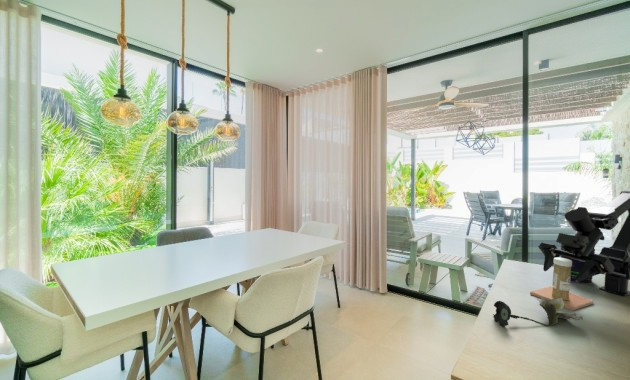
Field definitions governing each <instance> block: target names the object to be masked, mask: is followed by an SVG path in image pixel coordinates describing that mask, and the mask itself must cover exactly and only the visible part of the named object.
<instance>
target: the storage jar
mask: <svg viewBox="0 0 630 380" xmlns="http://www.w3.org/2000/svg"><path fill="white" fill-rule="evenodd" d="M561 245H562V244H561V243H560V250H564V248H562V247H561ZM595 248H596V247H594V249H595ZM593 253H594V254H596V253H595V252H590V254H593ZM590 254H589V255H590ZM589 255H588V257H589ZM560 258H566V259H569V260H571V261H572V266H571V276H570V278H571V280H570V282H572V283H577V284H585V285H588V284H589V285H590V284H592V283H593V277H594V276H591V277H589V278H586V279H584V280H581V281H579V282H577V281H576V280H575V278H576V276H577V275H578V273H579V272H580V271H581V269H582V268H583V267H584V265H585V262H583V261H579V260H575V259H572V258H568V257H564V256H561V257H560Z"/></svg>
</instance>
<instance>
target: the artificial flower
mask: <svg viewBox="0 0 630 380" xmlns="http://www.w3.org/2000/svg"><path fill="white" fill-rule="evenodd" d="M537 301H538V302H539V306H540V307H541V308H542V309H543V310H544V312H545V314H546V316H547V319H548V324H547V323H544V322H540V321H537V320H536V319H535V320H534V319H533V318H529V317H524V316H519V315H515V314H512V310H511V308H510V306H509V305H508V304H507V303H505V302H504V301H502V300H497V301H495V302H494V304H493V306H494V308H495V314H492V317H493V320H494V322H495V323H497V322H498V325H499V326H504V327H507V326H509V324H510V323H509V320H510V319H511V318H512V319H516V320H517V319H521V320H522V319H523V320H525V321H526V320H527V321H530V322H534V323H536V324H538V325H541V326H545V327H551V326H554V325H557V324H558V323H559V322H558V321H559V319H558V318H560V319H565V320H570V319H571V320H574V321H581V320H582V319H583V316H581V315H577V314H576V313H575V312H574V313H573V312H562V311H561V310H563V308H565V307H564V302H563V300H562V298H558V299H547V298H542V299H541V298H539V299H537ZM559 311H560V312H559Z"/></svg>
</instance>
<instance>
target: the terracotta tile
mask: <svg viewBox="0 0 630 380" xmlns="http://www.w3.org/2000/svg"><path fill="white" fill-rule="evenodd" d="M552 290H553V287H552V285H551V286H547V287H542V288H539V289H535V290H531V291H529V294H530V295H531V296H534V297H536V298H539V299H542V298H547V299H557V298H554V297H553V296H552ZM569 298H570V299H569V300H563V302H564V307H563V308H565V309H567V310H571V311H575V310H578V309H582V308H584V307H587V306H591V305H594V299H593V300H592V299H590V298H586V297H584V296H580V295H577V294H575V293H572V292H569Z"/></svg>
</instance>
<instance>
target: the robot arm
mask: <svg viewBox="0 0 630 380" xmlns="http://www.w3.org/2000/svg"><path fill="white" fill-rule="evenodd" d="M626 212H628V215H627V217H626V218H625V220H624V222H623V224H622V225H621V227H620V229H619V232H618V234H617V236H616V238H615V240H614V242H613V243H612V245H611V246H609V247H606V246H603V247H602V248H601V251H600V253H598V254H597V253H595V254H594V253H593V254H590V252H595V251H596V249H595V248H596V247H595V246H596V245H597V244H598V242H599V241H604V240H605V236H604V233H603V231H602V230H606V231H611V230H613V229H614V228H615V227H617V225H618V224H619V219H618V218H619V217H620V216H622V215H623V214H625V213H626ZM564 218H565V220H566V221H567V223H568V225H569V226H570V227H571V229H572V230H573V231H575V232H576V233H575V234H574V235H573V234H572V235H571V234H568V233H563V232H559V233H558V235H557V238H556V240H555V242H556V243H559V244H560V248H561V247H562V248H564V250H561V249H558V247H557V246H556V245H555V244H554V243H550V242H544V241H542V242H541V243H539V245H538V249H539V250H540V251H541V253H542V254H543V255H544V260H543V261H544V262H543V271H544V272H547V271H548V270H549V269H551V268H552V266H554V263H553V261H554V258H555V257H560V256H564V257H568V258H572V259H575V260H579V261H583V262H585V265H584V267H583V268H582V269H581V271H580V272H579V273H578V275H577V276H576V278H575V280H576V281H577V282H579V281H581V280H584V279H586V278H589V277H591V276H593V277H594V276H597V275H604V283H603V286H599V288H598V289H599V290H602V291H604V292H605V291H606V292H609V293H613V294H616V295H619V296H622V297H626V296H629V295H630V290H629V281H630V190H628V189H627V190H626V189H625V190H621V191H620V193H619V195H617V196H616V197H615V198H613V199H612V200H610V201H609V202H607V203H606V204H605V205H603V206H601V207H597V208H596V207H595V208H592V209H590V210H588V208H587V207H582V206H578V207H577V208H575V209H571V210H570V211H567V212H565V214H564ZM561 244H562V245H561ZM594 247H595V248H594ZM589 254H590V255H589ZM588 255H589V257H588Z"/></svg>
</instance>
